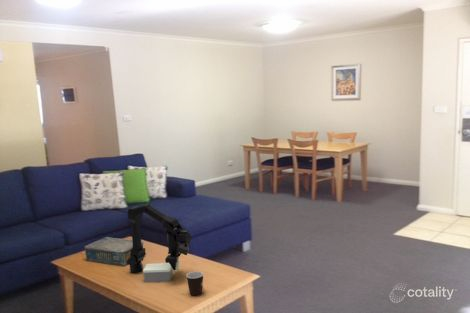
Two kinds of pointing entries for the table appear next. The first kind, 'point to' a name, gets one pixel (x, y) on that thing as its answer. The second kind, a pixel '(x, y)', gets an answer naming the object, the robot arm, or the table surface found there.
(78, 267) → the table surface
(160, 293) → the table surface
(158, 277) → the tub
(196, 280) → the coffee mug
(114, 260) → the metal box
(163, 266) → the cube on cream block
